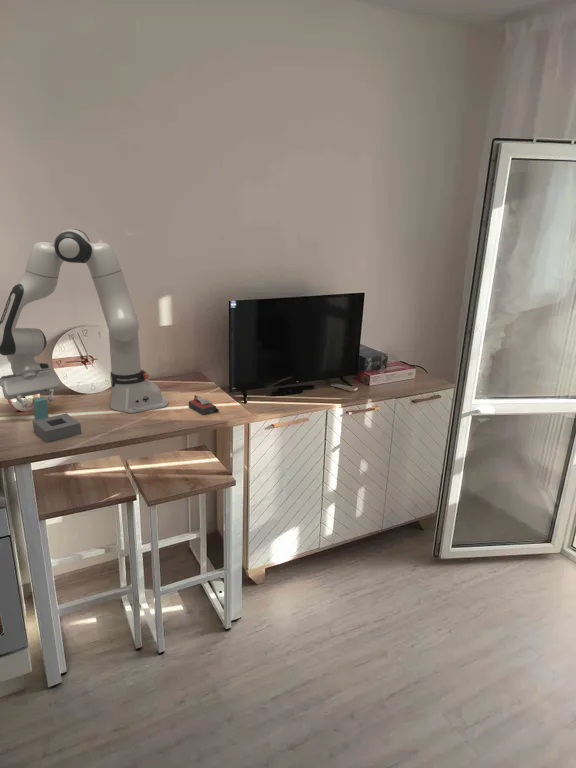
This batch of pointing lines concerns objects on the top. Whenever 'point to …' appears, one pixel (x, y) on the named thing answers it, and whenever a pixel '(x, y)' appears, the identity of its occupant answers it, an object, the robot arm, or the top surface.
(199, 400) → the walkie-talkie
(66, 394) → the top surface
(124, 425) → the top surface
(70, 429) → the socket
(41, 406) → the plug
